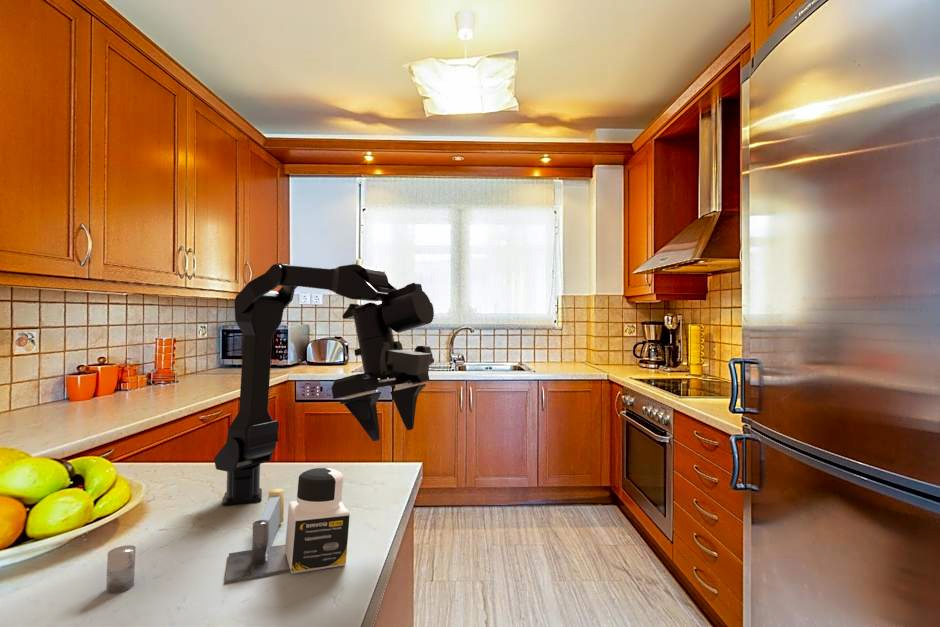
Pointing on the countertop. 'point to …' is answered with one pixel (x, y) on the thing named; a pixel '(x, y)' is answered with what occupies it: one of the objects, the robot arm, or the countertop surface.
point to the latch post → (120, 569)
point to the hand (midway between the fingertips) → (394, 434)
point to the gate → (273, 512)
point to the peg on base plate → (257, 558)
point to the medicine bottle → (317, 522)
